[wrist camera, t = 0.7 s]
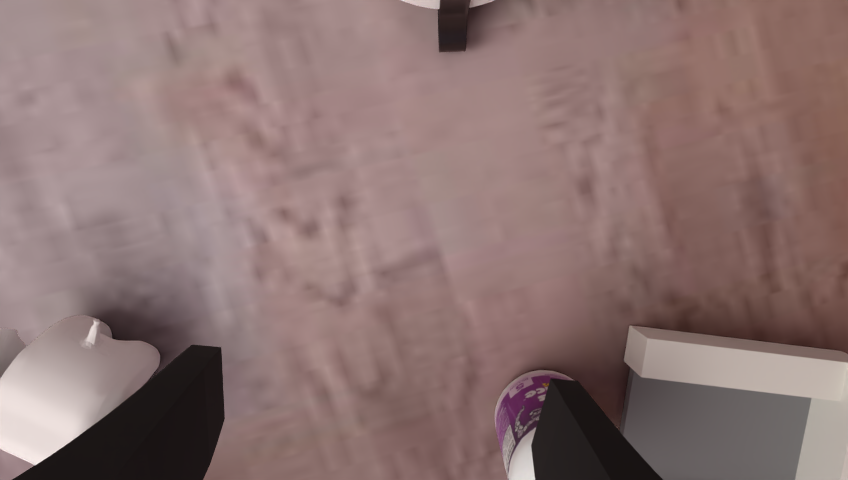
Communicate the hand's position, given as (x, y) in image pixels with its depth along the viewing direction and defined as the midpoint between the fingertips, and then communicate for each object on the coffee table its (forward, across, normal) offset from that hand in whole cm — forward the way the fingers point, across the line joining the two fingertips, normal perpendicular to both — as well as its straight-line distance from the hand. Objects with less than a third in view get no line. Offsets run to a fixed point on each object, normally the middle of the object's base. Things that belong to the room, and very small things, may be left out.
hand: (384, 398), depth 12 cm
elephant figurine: (+15, +15, +14) cm, 25 cm away
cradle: (+13, -18, +12) cm, 25 cm away
